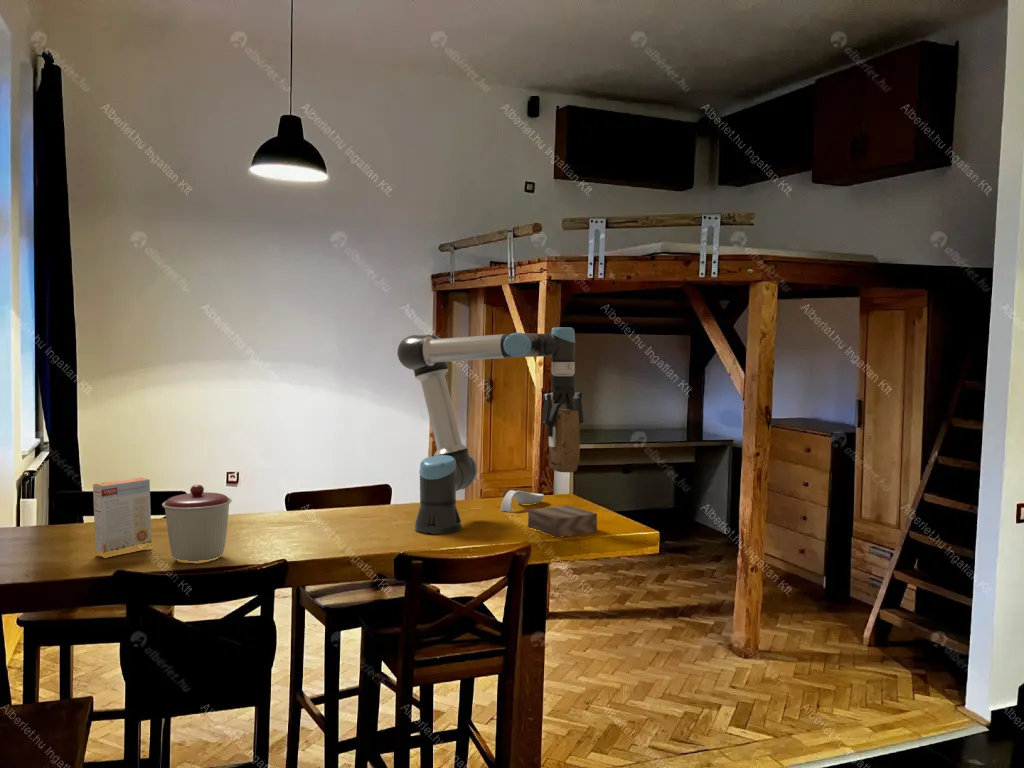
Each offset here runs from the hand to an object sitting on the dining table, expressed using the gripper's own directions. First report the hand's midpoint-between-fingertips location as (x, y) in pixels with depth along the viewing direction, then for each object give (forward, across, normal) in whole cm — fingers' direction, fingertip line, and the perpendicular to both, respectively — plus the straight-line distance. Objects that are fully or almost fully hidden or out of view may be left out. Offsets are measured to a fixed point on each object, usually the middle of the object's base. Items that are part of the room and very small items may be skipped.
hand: (562, 445), depth 262 cm
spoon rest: (+28, +9, +40) cm, 49 cm away
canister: (+28, -108, +23) cm, 114 cm away
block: (+8, 0, 0) cm, 8 cm away
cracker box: (+28, -125, +42) cm, 135 cm away
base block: (+28, 0, 0) cm, 28 cm away
